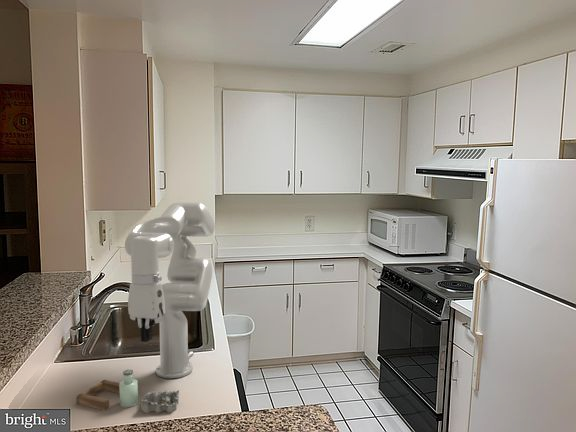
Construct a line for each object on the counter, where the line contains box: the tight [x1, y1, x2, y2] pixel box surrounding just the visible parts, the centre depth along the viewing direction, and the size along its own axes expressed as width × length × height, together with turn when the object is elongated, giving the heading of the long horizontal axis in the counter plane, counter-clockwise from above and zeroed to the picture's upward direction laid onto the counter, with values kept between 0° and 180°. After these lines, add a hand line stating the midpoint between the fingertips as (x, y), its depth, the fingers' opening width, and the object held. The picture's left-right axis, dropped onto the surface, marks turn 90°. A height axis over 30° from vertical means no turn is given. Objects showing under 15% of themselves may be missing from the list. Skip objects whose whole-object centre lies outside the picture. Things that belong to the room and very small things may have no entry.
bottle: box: [118, 369, 139, 409], centre depth 136 cm, size 5×5×10 cm
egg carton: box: [140, 390, 180, 414], centre depth 135 cm, size 11×8×4 cm
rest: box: [76, 379, 120, 411], centre depth 140 cm, size 12×11×2 cm
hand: (146, 340), depth 132 cm, fingers closed
